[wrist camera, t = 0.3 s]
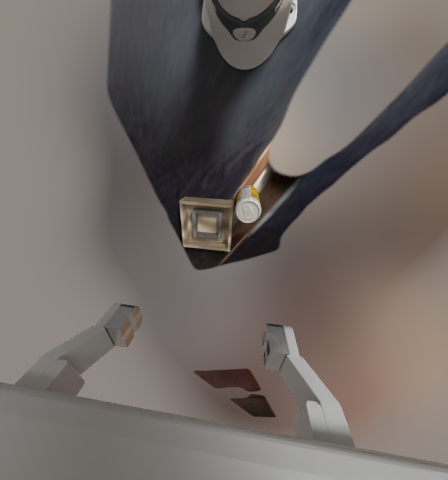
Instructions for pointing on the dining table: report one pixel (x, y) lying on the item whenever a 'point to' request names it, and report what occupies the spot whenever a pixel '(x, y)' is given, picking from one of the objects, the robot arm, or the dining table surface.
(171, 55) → the dining table surface
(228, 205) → the crate
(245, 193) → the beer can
